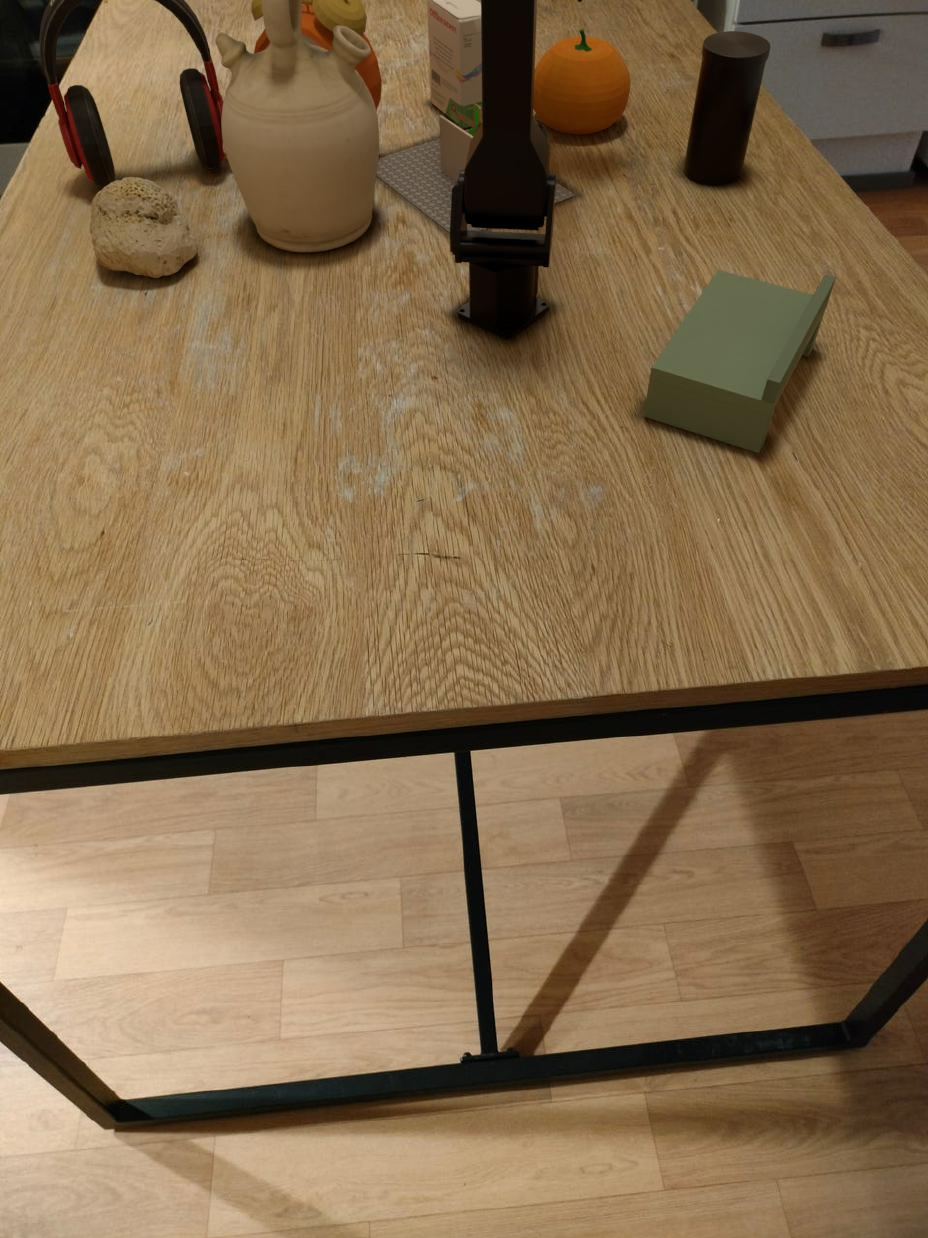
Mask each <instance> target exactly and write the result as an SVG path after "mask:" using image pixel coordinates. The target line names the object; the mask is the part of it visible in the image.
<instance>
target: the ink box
mask: <svg viewBox="0 0 928 1238" xmlns="http://www.w3.org/2000/svg"><path fill="white" fill-rule="evenodd" d="M426 6H427V8H426V9H427V30H428V31H427V32H428V54H429V59H428V60H429V84H430V85H429V86H430V103H431V104H432V105H433V106H435V108H437V109H438V110H439V111H441V112H442V113H443V115H445V116H446V117H448V118H449V119H450V120H451V121H453V123H454V124H455V125H457V126H458V127H460V128H461V129H467V128H472V127H471V126H470V125H468V124H467V123H465V122H464V121H462V120H461V119H459V118H458V112H459V113H461V114H462V115H464V116H465V117H467V118H468V119H470V120H471V121H473V122H474V102H476V104H477V105H479V106H480V107H481V108H482V45H481V2H480V1H478V0H426Z"/></svg>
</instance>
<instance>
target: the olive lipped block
mask: <svg viewBox="0 0 928 1238" xmlns="http://www.w3.org/2000/svg"><path fill="white" fill-rule="evenodd" d="M836 279H837V277H835V276H832V275H829V274H824V275H823V276H822V278H821V280H820V282H819V284H818V285H817V288H816V289H815V291H814V292H813V293H809V292H806V291H802V290H798V289H794V288H791V287H786V286H782V285H779V284H775V283H770V282H767V281H763V280H759V279H755V278H751V277H747V276H745V275H744V276H743V275H741V274H736V273H733V272H728V271H724V270H721V269H717V270H716V272H715V273H714V274H713V276H712V278H711V279H710V281H709V282H708V283H707V285H706V286H705V287H704V289H703V291H702V292H701V293H700V295H699V296H698V298H697V300H696V301H695V302H694V304H693V306H692V307H691V308H690V310H689V311H688V313H687V314H686V316H685V317H684V319H683V320H682V322H681V323H680V325H679V326H678V328H677V329H676V330H675V332H674V334H673V335H672V337H671V338H670V339H669V341H668V343H666V346H665V347H664V348H663V350H662V351H661V353H660V354H659V356H658V357H657V359H656V360H655V362H654V363H653V365H652V366H651V368H650V374H649V380H648V386H647V393H646V399H645V403H644V410H643V417H644V418H646V419H650V420H654V421H656V422H660V423H663V424H666V425H669V426H672V427H675V428H678V429H682V430H685V431H688V432H691V433H694V434H697V435H701V436H704V437H707V438H710V439H713V440H715V441H719V442H722V443H725V444H727V445H731V446H734V447H737V448H740V449H745V450H746V451H747V450H748V451H750V452H753V453H756V454H759V453H760V452H761V450H762V448H763V446H764V444H765V443H766V439H767V435H768V432H769V429H770V426H771V423H772V420H773V416H774V412H775V409H776V406H777V404H778V402H779V400H780V398H781V396H782V394H783V392H784V390H785V388H786V387H787V384H788V383H789V381H790V379H791V377H792V375H793V374H794V372H795V369H796V368H797V365H798V363H799V362H800V360H801V358H802V356H804V357H810V355H811V353H812V351H813V349H814V347H815V344H816V340H817V338H818V334H819V331H820V328H821V325H822V322H823V319H824V316H825V312H826V310H827V307H828V304H829V301H830V298H831V295H832V292H833V288H834V285H835V282H836Z"/></svg>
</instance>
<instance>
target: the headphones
mask: <svg viewBox="0 0 928 1238" xmlns="http://www.w3.org/2000/svg"><path fill="white" fill-rule="evenodd" d="M84 1H86V0H49V1H48V4H47V6H46V7H45V9H44V13H43V14H42V15H43V16H42V18H41V22H40V29H39V36H38V37H39V38H38V39H39V54H40V55H39V56H40V63H41V66H42V71H43V75H44V76H45V78H46V82H47V87H48V92H49V95H50V98H51V100H52V104H53V107H54V110H55V113H56V115H57V116H58V120H57V123H58V127H59V131H60V135H61V137H62V141H63V144H64V147H65V150H66V153H67V155H68V158H69V160H70V162H71V163H72V164H73V165H74V167H75V168H77V169H79V170H82V167H83V169H84V171H85V174H86V176H87V179H88V180H89V181H90V182H92V183H93V184H95V185H96V186H98V187H100V188H101V187H103V188H104V187H106V186H107V185H109V184H110V183H111V182H114V181H116V171H115V170H116V169H115V165H114V164H115V163H114V161H113V156H112V152H111V149H110V146H109V142H108V141H109V140H108V139H107V135H106V131H105V128H104V125H103V121H102V119H101V115H100V112H99V109H98V106H97V103H96V101H95V98H94V96H93V95H92V92H91V91H90V90H89V88H88V87H86V86H84V85H82V84H74V85H70V86H69V87H68V88H67V90H66V93H64V94H62V92H61V89H60V85H59V82H58V78H57V48H58V47H57V46H58V40H59V36H60V33H61V29H62V26H63V25H64V23H65V21H66V20H67V18H68V17H69V16H70V15H69V14H70V13H71V12H72V11H73V10H74V9H76V8H77V7H78V6H79V5H80V4H81V3H83V2H84ZM154 2H157V3H158V4H159V5H161V6H162V7H164V8H165V9H166V10H168V11H169V12H171V13H172V14H173V15H174V17H175V18H176V19H177V20H178V21H179V22H180V24H182V26H183V28H184V29H185V30H186V32H187V33H188V34H189V36H190V38H191V40H192V42H193V43H194V45H195V47H196V48H197V50H198V52H199V53H200V56H201V59H202V62H203V66H204V71H205V74H203V73H202V72H201V71H199V69H197V68H194V67H191V68H186V69H183V70H182V72H181V73H180V75H179V88H180V93H181V97H182V102H183V107H184V110H185V115H186V119H187V123H188V127H189V131H190V134H191V138H192V142H193V145H194V149H195V150H194V151H195V153H196V156H197V159H198V161H199V162H200V164H201V166H203V167H204V168H206V169H209V170H210V169H212V170H214V169H217V168H220V167H221V165H222V163H223V161H224V159H225V150H224V145H223V139H222V126H221V119H222V108H223V102H224V98H223V95H222V94H221V92H220V87H219V82H218V76H217V72H216V68H215V64H214V62H213V59H212V55H211V49H210V46H209V41H208V38H207V36H206V33H205V30H204V28H203V26H202V24H201V23H200V20H199V18H198V16H197V14H196V13H195V11H193V9H192V8H191V6H190V5H189V3H188V2H187V1H186V0H154Z"/></svg>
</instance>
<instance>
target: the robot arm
mask: <svg viewBox="0 0 928 1238" xmlns="http://www.w3.org/2000/svg"><path fill="white" fill-rule="evenodd" d="M582 2H583V0H577V3H582ZM480 3H481V45H482V122H479V124H478V126H477V128H476V130H475V132H474V136H473V138H472V139H471V141H470V146H469V151H468V156H467V161H466V165H465V170H460V173H459V178H458V180H457V183H456V184H455V185H454V186H453V188H452V198H451V218H450V232H449V246H450V247H449V251H450V253H451V254H452V255H453V256H454V263H455V264H462V263H467V264H468V280H469V282H468V285H469V289H468V290H469V291H468V293H469V295H468V296H469V300H468V301H467V302H466V303H464V304H463V305H462V306H460V307H459V308H457V309H456V316H457V317H458V318H460V319H462V320H465V321H467V322H469V323H471V324H473V325H476V326H477V327H480V328H482V329H484V330H486V331H489V332H491V333H493V334H495V335H497V336H500V337H502V338H504V339H507V340H511V339H513V338H515V337H516V336H517V335H519V334H520V333H521V332H522V331H524V330H525V329H526V328H527V327H529V326H530V325H531V324H532V323H534V322H535V321H536V320H538V319H539V318H540V317H541V316H543V315H545V313H546V312H548V311H549V310H550V303H549V302H548V301H545V300H543V299H542V298H538V297H537V295H538V290H539V269H540V267H543V268H547V269H548V268H550V261H551V253H552V246H553V245H552V244H553V232H554V218H555V204H556V203H555V190H556V183H557V172H556V173H552V172H550V157H551V155H550V154H551V153H550V152H551V144H550V142H549V133H548V130H547V128H546V125H545V124H539V123H538V122H537V120H536V118H535V117H534V108H533V103H534V74H535V68H536V45H537V44H536V41H537V13H538V0H480ZM545 218H546V219H545ZM467 224H471V226H472V228H487V229H490V230H491V229H495V230H512V231H513V230H514V231H515V230H516V231H537V232H538V231H539V230H540V229H543V227H544V226H545V228H544V229H545V230H544V233H533V232H532V233H530V232H512V231H511V232H510V231H509V232H508V231H492V230H491V231H487V230H481V231H470V230H467Z"/></svg>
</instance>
